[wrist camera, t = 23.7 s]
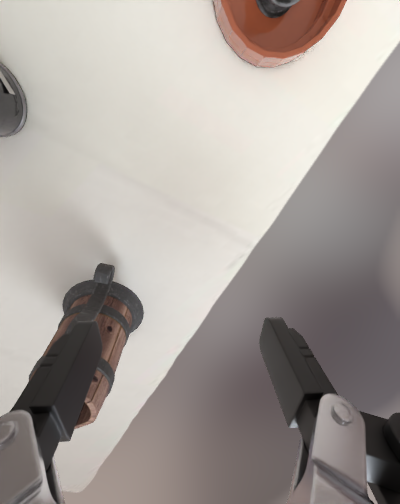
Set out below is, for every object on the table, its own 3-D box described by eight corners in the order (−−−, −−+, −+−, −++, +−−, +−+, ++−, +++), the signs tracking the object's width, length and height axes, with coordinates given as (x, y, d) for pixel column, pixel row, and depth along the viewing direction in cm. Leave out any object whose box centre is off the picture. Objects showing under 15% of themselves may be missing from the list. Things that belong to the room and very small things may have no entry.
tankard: (136, 343, 53) (113, 445, 35) (61, 332, 50) (-6, 439, 32) (157, 262, 43) (140, 349, 25) (65, 242, 40) (-28, 325, 22)
